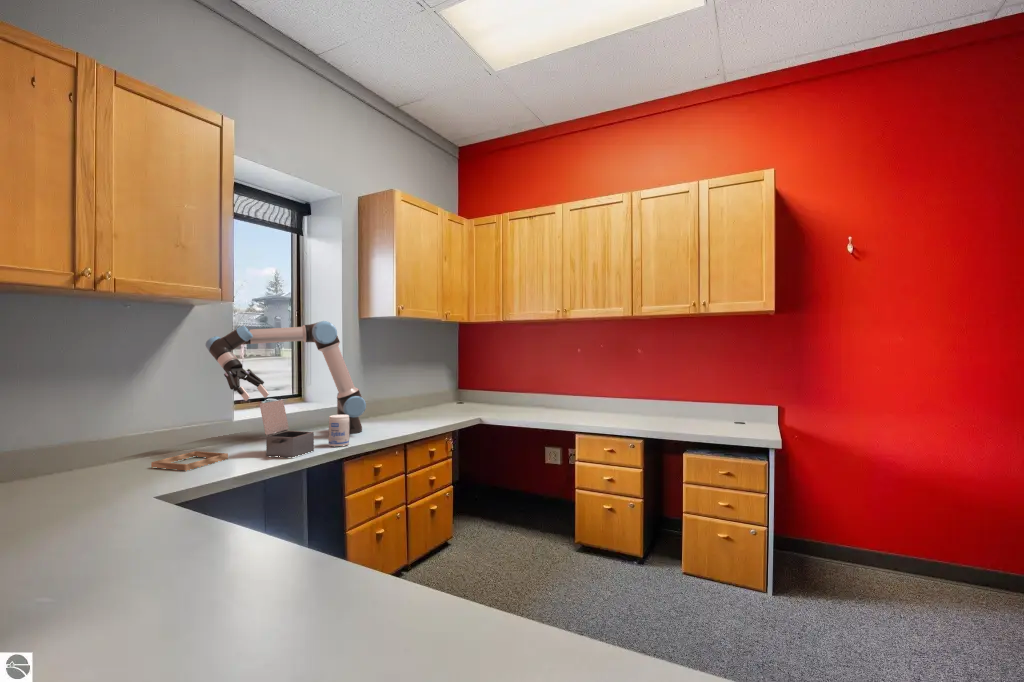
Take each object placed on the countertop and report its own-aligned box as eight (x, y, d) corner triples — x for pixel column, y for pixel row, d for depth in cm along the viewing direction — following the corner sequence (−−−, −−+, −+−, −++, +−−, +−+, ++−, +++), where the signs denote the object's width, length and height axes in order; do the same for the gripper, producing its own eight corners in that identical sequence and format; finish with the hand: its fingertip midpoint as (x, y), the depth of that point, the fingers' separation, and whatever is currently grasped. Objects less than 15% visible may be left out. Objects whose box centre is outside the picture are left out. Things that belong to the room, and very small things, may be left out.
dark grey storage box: (291, 448, 231) (291, 429, 231) (317, 450, 227) (316, 431, 227) (262, 457, 213) (262, 437, 213) (289, 459, 209) (289, 439, 209)
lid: (289, 430, 228) (286, 430, 229) (283, 399, 229) (280, 400, 230) (267, 435, 215) (264, 436, 215) (261, 403, 216) (258, 404, 216)
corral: (195, 456, 215) (195, 451, 215) (227, 459, 210) (227, 453, 210) (151, 468, 196) (151, 462, 196) (186, 471, 191) (186, 464, 191)
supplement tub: (330, 448, 231) (329, 417, 231) (327, 444, 239) (327, 415, 239) (351, 446, 236) (350, 416, 236) (347, 442, 244) (347, 413, 244)
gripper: (245, 367, 240) (271, 399, 237) (204, 370, 218) (232, 406, 214) (254, 357, 239) (280, 389, 235) (214, 359, 216) (242, 394, 212)
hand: (257, 397), depth 224 cm, fingers open, 11 cm apart
